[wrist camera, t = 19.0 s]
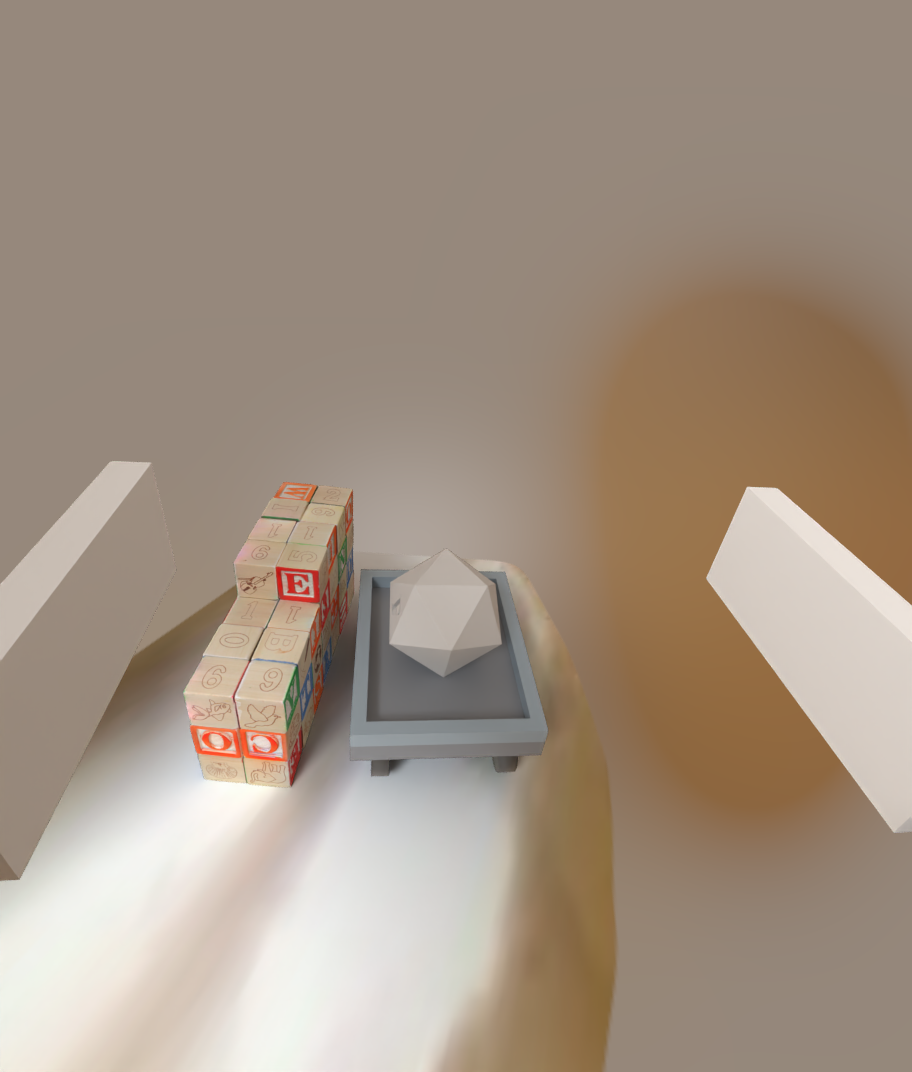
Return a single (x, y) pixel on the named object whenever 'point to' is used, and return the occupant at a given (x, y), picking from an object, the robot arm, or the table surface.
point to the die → (444, 613)
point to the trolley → (441, 692)
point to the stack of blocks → (275, 639)
